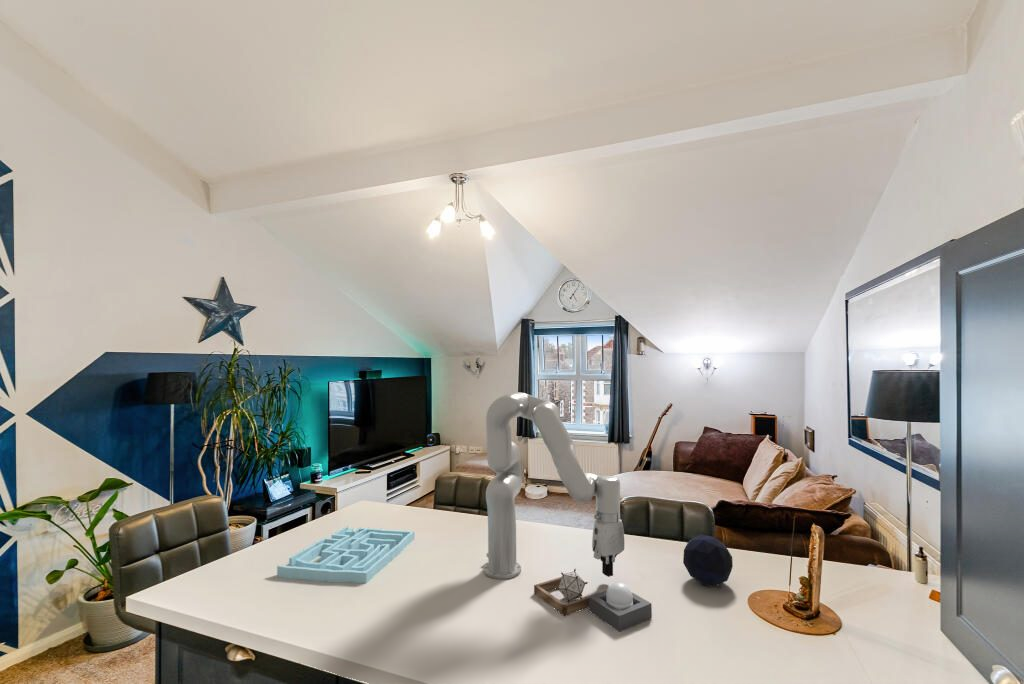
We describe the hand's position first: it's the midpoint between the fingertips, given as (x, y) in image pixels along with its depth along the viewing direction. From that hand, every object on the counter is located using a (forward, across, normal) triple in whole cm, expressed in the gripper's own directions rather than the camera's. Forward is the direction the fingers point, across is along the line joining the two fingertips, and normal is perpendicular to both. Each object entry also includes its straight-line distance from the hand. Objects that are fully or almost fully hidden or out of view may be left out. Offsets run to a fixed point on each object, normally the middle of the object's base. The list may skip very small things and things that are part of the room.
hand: (607, 574), depth 146 cm
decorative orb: (+2, +27, -17) cm, 32 cm away
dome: (+1, -10, -16) cm, 19 cm away
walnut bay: (+3, -16, -1) cm, 16 cm away
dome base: (+2, -10, -16) cm, 19 cm away
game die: (+3, -16, -2) cm, 17 cm away
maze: (+6, -65, +65) cm, 92 cm away
